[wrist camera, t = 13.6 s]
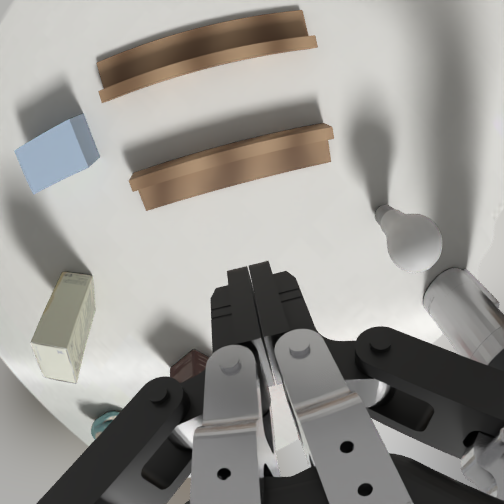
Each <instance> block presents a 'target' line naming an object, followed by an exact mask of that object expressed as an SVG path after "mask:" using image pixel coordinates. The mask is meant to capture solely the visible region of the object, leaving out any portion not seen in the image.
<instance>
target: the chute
mask: <svg viewBox="0 0 504 504" xmlns="http://www.w3.org/2000/svg"><path fill="white" fill-rule="evenodd" d="M317 47H318V46H317V41H316V37H315V36H308V32H307V28H306V23H305V19H304V15H303V11H302V10H298V11H288V12H280V13H272V14H265V15H259V16H253V17H247V18H241V19H236V20H231V21H226V22H222V23H217V24H213V25H208V26H204V27H200V28H196V29H193V30H189V31H185V32H182V33H178V34H175V35H171V36H168V37H165V38H162V39H158V40H155V41H152V42H149V43H146V44H143V45H141V46H138V47H135V48H132V49H130V50H127V51H124V52H122V53H119V54H117V55H114V56H112V57H109V58H107V59H104V60H102V61H100V62H97V67H98V70H99V74H100V77H101V81H102V84H103V87H104V89H103V90H100V91H98V92H99V95H100V98H101V101H102V103H104V102H107V101H110V100H112V99H115V98H117V97H120V96H123V95H125V94H128V93H130V92H133V91H136V90H139V89H142V88H144V87H147V86H150V85H153V84H156V83H159V82H162V81H165V80H168V79H172V78H175V77H178V76H182V75H185V74H188V73H192V72H195V71H199V70H203V69H207V68H211V67H215V66H219V65H223V64H227V63H231V62H236V61H240V60H245V59H250V58H255V57H260V56H266V55H271V54H277V53H284V52H290V51H297V50H305V49H311V48H317ZM330 139H334V135H333V128H332V127H331V126H329V125H327V124H325V123H320V124H315V125H310V126H305V127H300V128H295V129H290V130H285V131H281V132H276V133H272V134H267V135H263V136H259V137H255V138H251V139H246V140H242V141H239V142H235V143H231V144H227V145H223V146H219V147H216V148H212V149H209V150H205V151H201V152H198V153H195V154H191V155H188V156H184V157H181V158H178V159H175V160H171V161H168V162H165V163H162V164H159V165H156V166H153V167H150V168H147V169H144V170H141V171H138V172H135V173H133V175H132V176H131V178H130V179H129V183H130V185H131V188H132V191H133V192H134V191H137V190H138V191H139V193H140V196H141V199H142V201H143V204H144V206H145V209H146V211H148V210H151V209H154V208H157V207H161V206H164V205H167V204H170V203H174V202H177V201H180V200H184V199H187V198H191V197H194V196H197V195H201V194H204V193H208V192H212V191H215V190H219V189H222V188H226V187H230V186H233V185H237V184H241V183H245V182H249V181H252V180H256V179H260V178H264V177H268V176H272V175H276V174H280V173H284V172H289V171H293V170H297V169H301V168H306V167H310V166H314V165H319V164H323V163H328V162H331V158H330V151H329V144H328V140H330Z"/></svg>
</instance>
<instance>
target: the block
mask: <svg viewBox="0 0 504 504" xmlns="http://www.w3.org/2000/svg"><path fill="white" fill-rule="evenodd" d="M15 154H16V156H17V159H18V161H19V163H20V166H21V168H22V171H23V173H24V175H25V177H26V180H27V182H28V184H29V186H30V188H31V191H32V193H33V195H34V194H35V193H37V192H39V191H41V190H43V189H45V188H47V187H49V186H51V185H53V184H55V183H57V182H59V181H61V180H63V179H65V178H67V177H69V176H71V175H73V174H75V173H78V172H80V171H82V170H84V169H86V168H88V167H90V166H91V165H92V164H93V163H94V162H95V161H96V160H97V159H98V158H100V155H99V153H98V150H97V148H96V145H95V142H94V140H93V137H92V135H91V132H90V129H89V127H88V124H87V121H86V119H85V116H84V113H83V114H81V115H78V116H76V117H73V118H70V119H68V120H66V121H64V122H63V123H61V124H59V125H57V126H55V127H53V128H52V129H50V130H48V131H46V132H44V133H43V134H41V135H39V136H38V137H36V138H34V139H33V140H31V141H29V142H28V143H26V144H24V145H23V146H21V147H19V148H18V149H16V150H15Z"/></svg>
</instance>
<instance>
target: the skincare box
mask: <svg viewBox="0 0 504 504" xmlns="http://www.w3.org/2000/svg"><path fill="white" fill-rule="evenodd" d="M94 314H95V298H94V285H93V277H92V276H91V275H85V274H78V273H70V272H62V274H61V276H60V278H59V280H58V282H57V284H56V286H55V288H54V290H53V293H52V295H51V297H50V299H49V301H48V303H47V305H46V308H45V310H44V312H43V315H42V317H41V319H40V321H39V324H38V326H37V328H36V331H35V333H34V336H33V338H32V340H31V346H32V350H33V352H34V355H35V358H36V360H37V363H38V365H39V368H40V370H41V373H42V375H43V377H45V378H49V379H53V380H58V381H63V382H68V383H73V384H76V383H77V380H78V375H79V371H80V367H81V362H82V358H83V354H84V351H85V347H86V343H87V339H88V335H89V332H90V328H91V324H92V321H93V317H94Z"/></svg>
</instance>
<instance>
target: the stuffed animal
mask: <svg viewBox="0 0 504 504" xmlns="http://www.w3.org/2000/svg"><path fill="white" fill-rule="evenodd" d="M119 413H120V412H116V411H111V412H108V413H106V414H104V415H102V416H101V417H99V418H98V419H96V420H95V421H94V422H93V424H92V428H91V434H92V436H93V438H94V439H96V438H97V437H98V436H99V435H100V434H101V433H102V432H103V431H104V429H105V428H106V427H107V426H108V425H109V424H110V423H111V422H112V421H113V420H114V418H115V417H116V416H117V415H118V414H119Z"/></svg>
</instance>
